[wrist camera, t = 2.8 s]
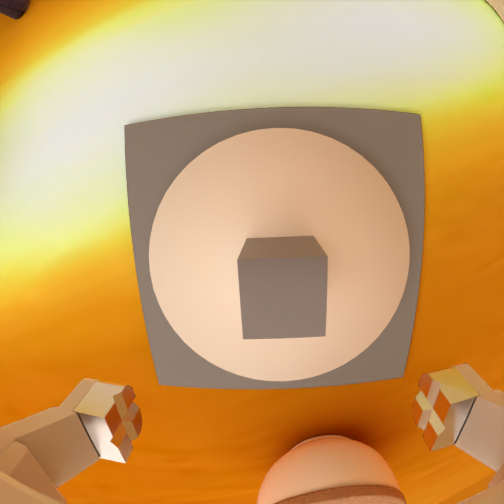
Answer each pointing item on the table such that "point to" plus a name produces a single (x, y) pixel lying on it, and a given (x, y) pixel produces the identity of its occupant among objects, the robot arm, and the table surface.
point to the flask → (14, 7)
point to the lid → (279, 254)
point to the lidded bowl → (330, 475)
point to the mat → (245, 120)
